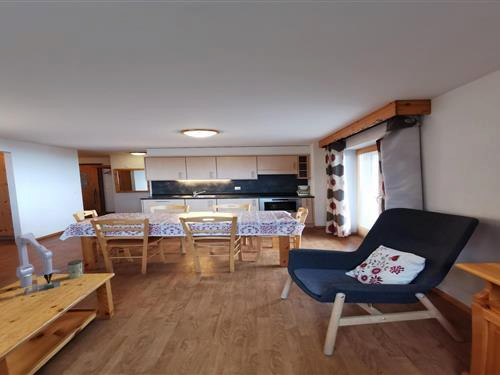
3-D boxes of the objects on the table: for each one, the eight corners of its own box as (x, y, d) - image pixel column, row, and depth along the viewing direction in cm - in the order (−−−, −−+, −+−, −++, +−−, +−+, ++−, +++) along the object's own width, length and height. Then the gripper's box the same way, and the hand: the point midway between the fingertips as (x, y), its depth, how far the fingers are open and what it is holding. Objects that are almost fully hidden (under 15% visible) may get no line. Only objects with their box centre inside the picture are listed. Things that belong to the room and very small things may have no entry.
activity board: (25, 289, 194) (25, 288, 194) (60, 281, 208) (60, 280, 208) (23, 296, 183) (23, 295, 183) (60, 287, 196) (60, 286, 196)
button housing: (44, 287, 195) (44, 284, 195) (54, 285, 198) (53, 282, 198) (44, 290, 190) (43, 287, 190) (53, 288, 194) (53, 285, 194)
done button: (46, 284, 194) (46, 283, 194) (51, 283, 197) (51, 281, 197) (45, 286, 192) (45, 284, 192) (51, 284, 194) (51, 283, 194)
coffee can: (66, 278, 214) (65, 262, 214) (80, 274, 223) (79, 259, 222) (71, 280, 208) (70, 264, 208) (84, 276, 217) (83, 261, 216)
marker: (32, 290, 190) (31, 280, 190) (38, 289, 192) (37, 279, 192) (32, 291, 188) (31, 281, 187) (37, 290, 190) (36, 280, 189)
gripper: (35, 270, 186) (36, 287, 186) (59, 265, 195) (60, 282, 195) (35, 267, 191) (37, 284, 192) (59, 263, 200) (60, 279, 201)
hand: (48, 283), depth 194 cm, fingers closed, pressing on done button
